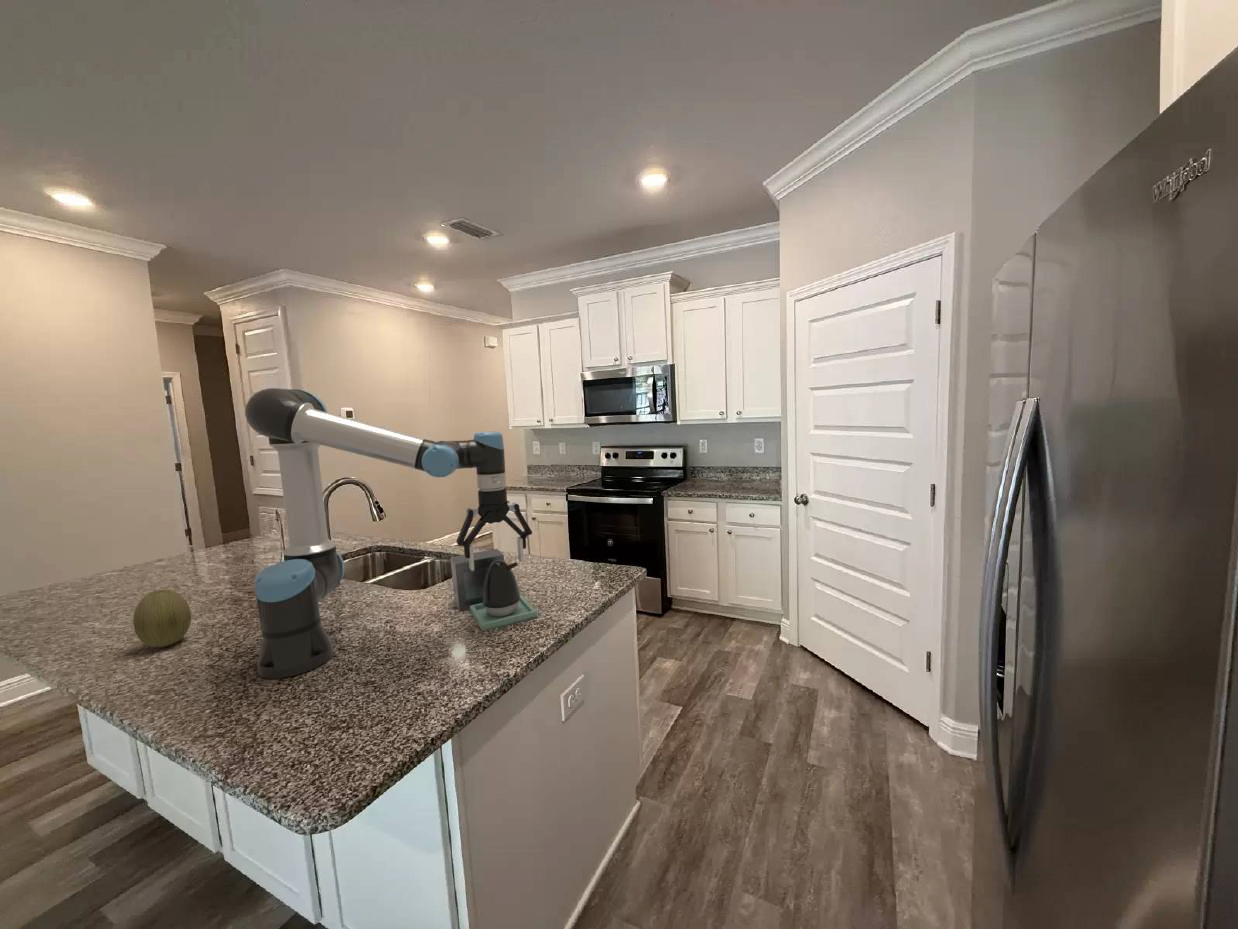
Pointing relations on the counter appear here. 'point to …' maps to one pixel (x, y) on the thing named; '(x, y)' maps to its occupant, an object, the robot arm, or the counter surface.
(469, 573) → the unit
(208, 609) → the counter surface
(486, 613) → the tray
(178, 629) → the fruit
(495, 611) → the pump dispenser
